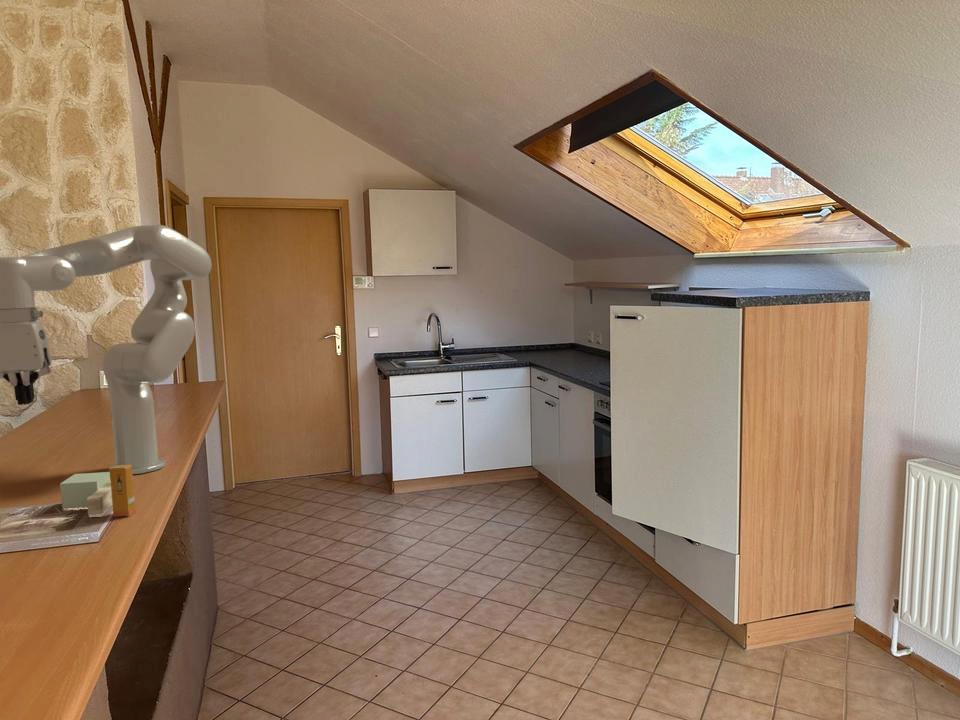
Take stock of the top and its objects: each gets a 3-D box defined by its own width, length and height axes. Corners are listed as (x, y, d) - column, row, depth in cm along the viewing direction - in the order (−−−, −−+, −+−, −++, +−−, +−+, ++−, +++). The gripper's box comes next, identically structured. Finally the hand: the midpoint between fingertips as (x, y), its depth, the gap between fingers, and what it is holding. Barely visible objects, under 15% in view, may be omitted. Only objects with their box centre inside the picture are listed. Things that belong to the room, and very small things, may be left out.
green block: (77, 500, 146) (74, 474, 145) (111, 498, 147) (109, 471, 146) (62, 512, 139) (59, 483, 138) (99, 509, 140) (96, 481, 139)
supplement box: (137, 511, 138) (133, 463, 137) (129, 516, 135) (125, 468, 134) (120, 511, 138) (116, 464, 137) (112, 517, 135) (107, 468, 133)
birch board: (121, 490, 152) (120, 472, 152) (133, 489, 153) (132, 472, 152) (88, 518, 134) (86, 498, 134) (101, 517, 135) (100, 497, 134)
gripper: (61, 314, 145) (71, 398, 148) (-15, 317, 143) (-3, 401, 145) (45, 317, 138) (55, 405, 140) (-36, 320, 135) (-23, 409, 138)
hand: (25, 403), depth 143 cm, fingers closed
